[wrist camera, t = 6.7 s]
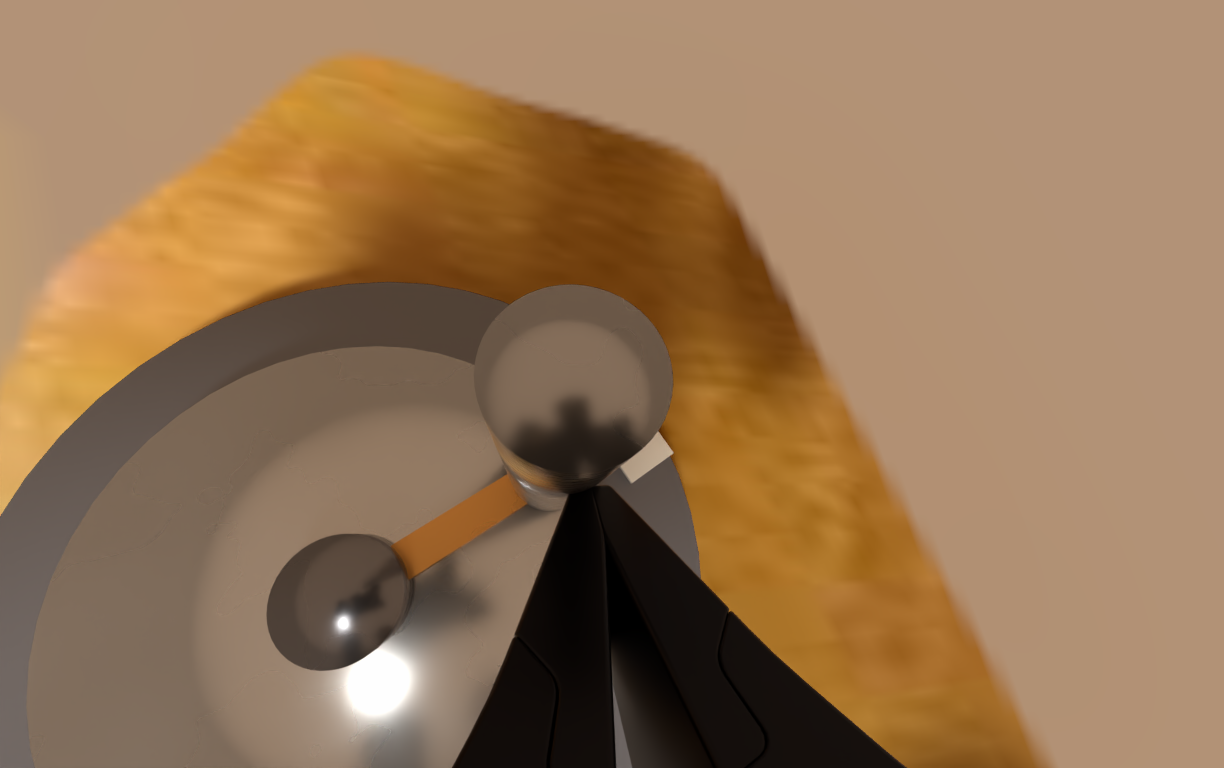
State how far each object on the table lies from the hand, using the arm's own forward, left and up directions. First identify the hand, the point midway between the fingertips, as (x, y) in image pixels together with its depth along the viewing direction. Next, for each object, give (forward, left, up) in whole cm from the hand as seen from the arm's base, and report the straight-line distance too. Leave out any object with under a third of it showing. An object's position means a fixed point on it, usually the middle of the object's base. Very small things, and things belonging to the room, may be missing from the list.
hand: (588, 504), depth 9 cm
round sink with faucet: (-2, +4, -7) cm, 8 cm away
